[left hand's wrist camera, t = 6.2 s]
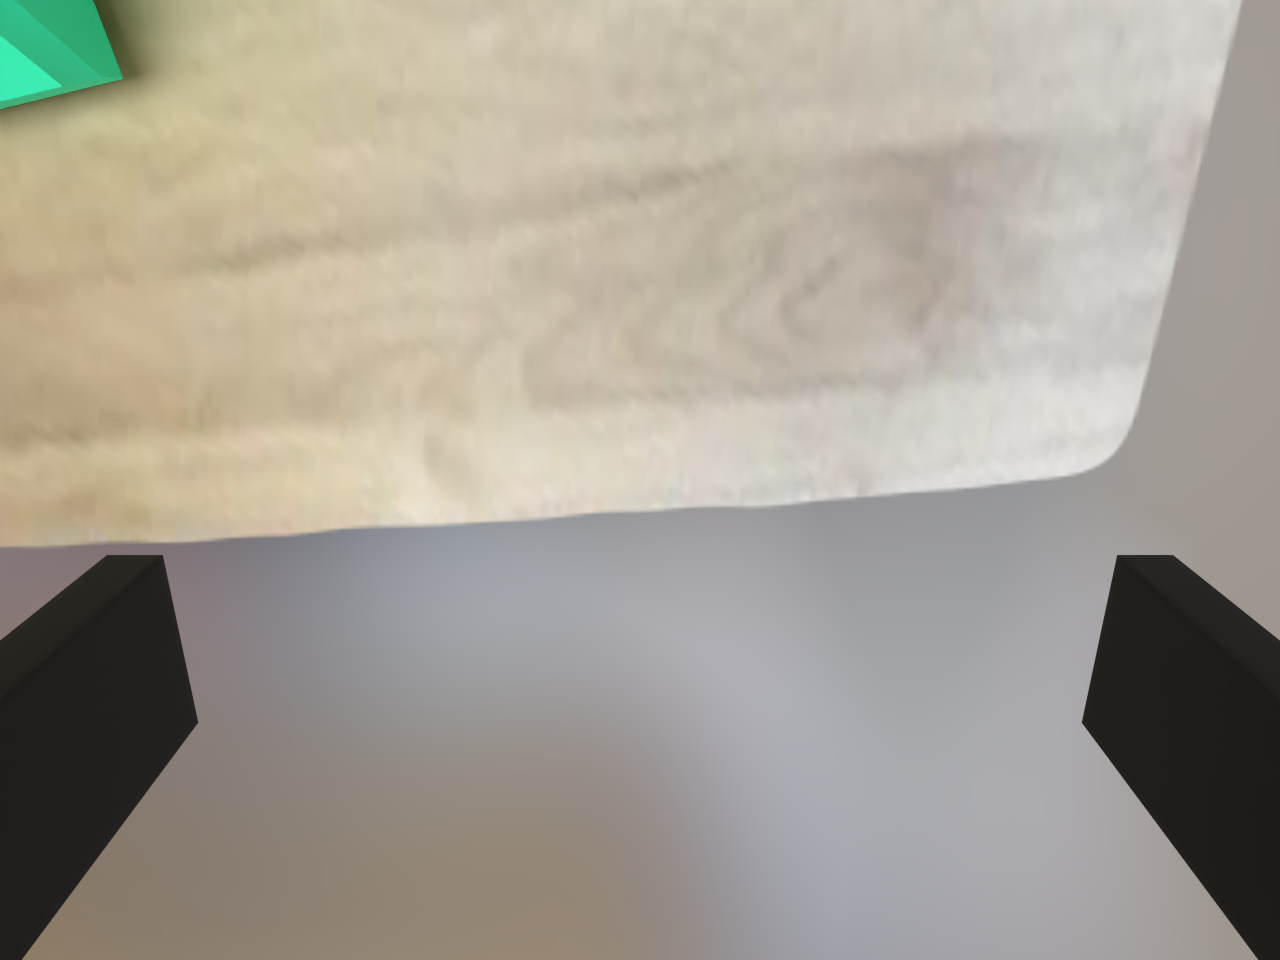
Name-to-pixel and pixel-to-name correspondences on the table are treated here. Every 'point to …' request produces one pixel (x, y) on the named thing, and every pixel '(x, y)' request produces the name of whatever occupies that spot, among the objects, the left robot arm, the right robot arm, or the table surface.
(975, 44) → the table surface
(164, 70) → the table surface
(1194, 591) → the left robot arm
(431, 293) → the table surface
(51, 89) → the camera mount
